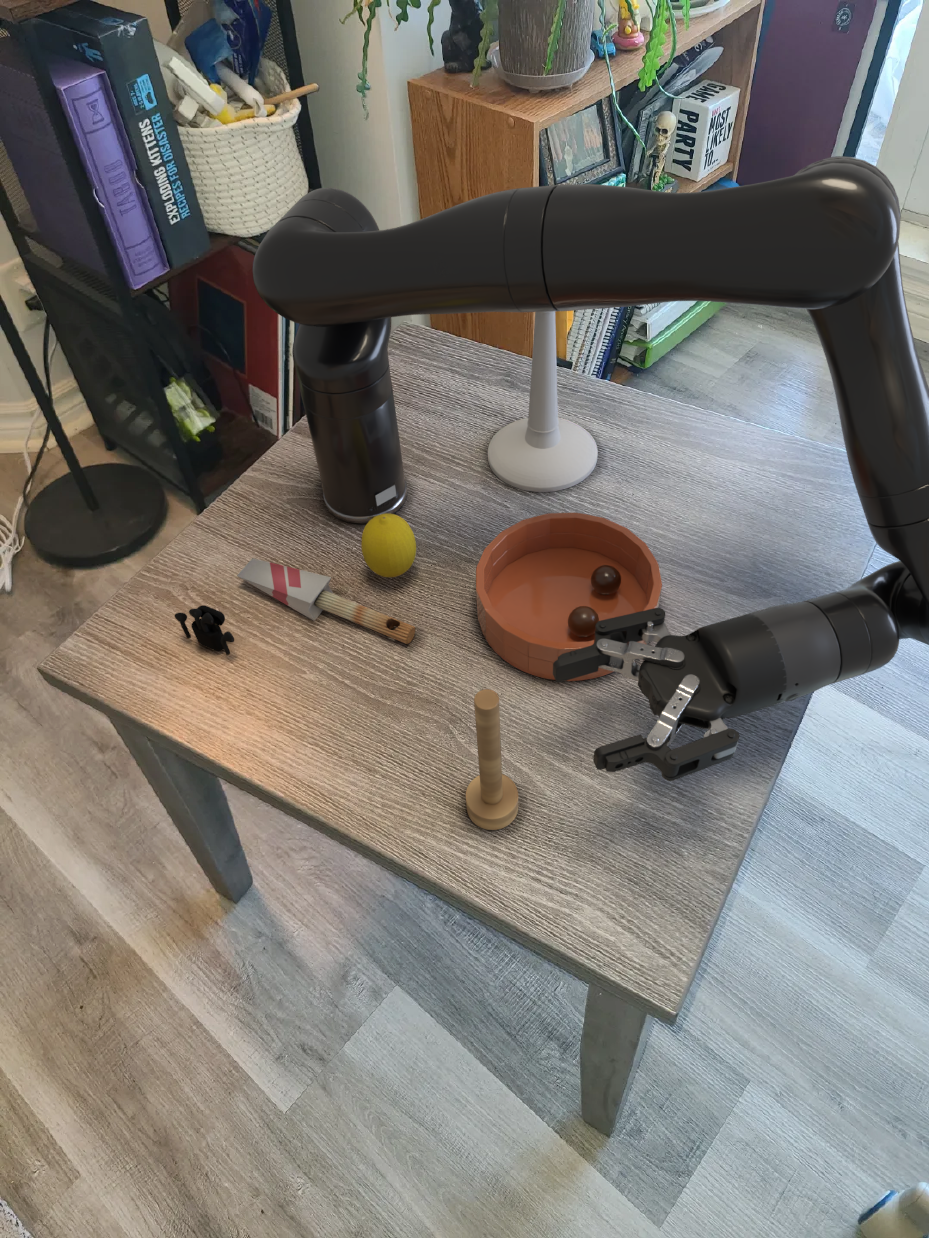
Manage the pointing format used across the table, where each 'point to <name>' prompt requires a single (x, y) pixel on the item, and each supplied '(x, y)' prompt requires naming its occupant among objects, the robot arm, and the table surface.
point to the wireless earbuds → (207, 628)
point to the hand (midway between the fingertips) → (574, 714)
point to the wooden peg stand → (490, 770)
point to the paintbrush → (318, 597)
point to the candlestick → (543, 429)
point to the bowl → (558, 586)
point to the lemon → (388, 545)
